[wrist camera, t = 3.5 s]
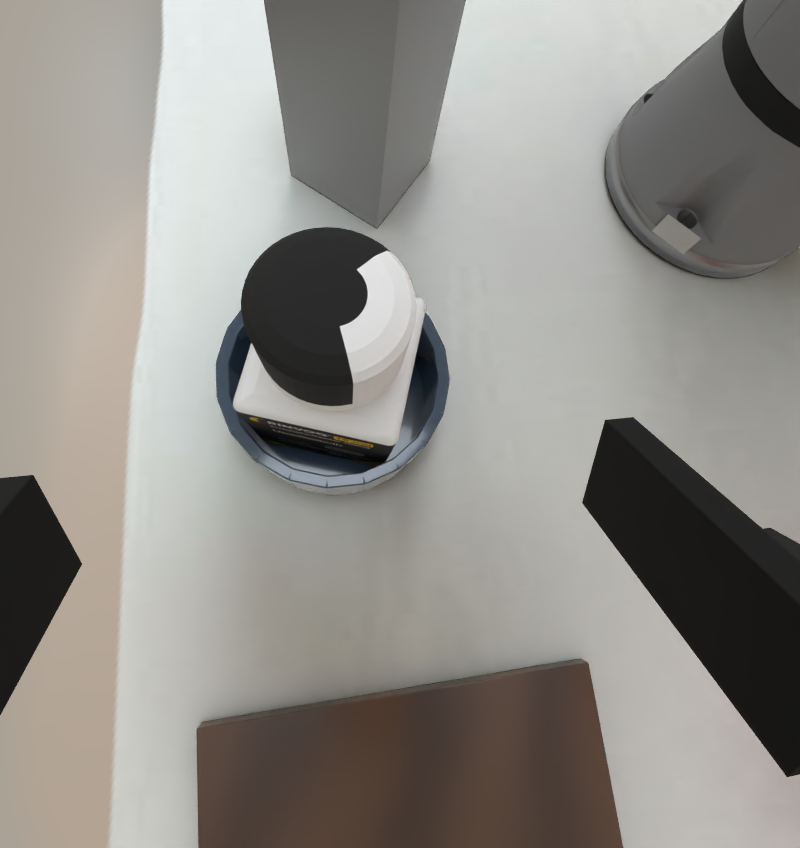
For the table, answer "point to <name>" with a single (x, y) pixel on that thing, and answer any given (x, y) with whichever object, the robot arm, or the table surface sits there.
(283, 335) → the medicine bottle
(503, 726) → the board
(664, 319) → the table surface
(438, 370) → the mug
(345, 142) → the perfume bottle
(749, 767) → the table surface
